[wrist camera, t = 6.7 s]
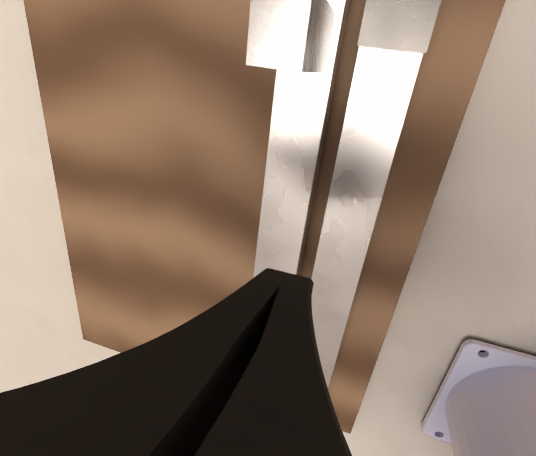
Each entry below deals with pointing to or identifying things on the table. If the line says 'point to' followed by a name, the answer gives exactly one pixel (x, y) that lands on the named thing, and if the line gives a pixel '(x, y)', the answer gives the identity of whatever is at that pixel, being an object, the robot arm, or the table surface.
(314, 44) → the bar
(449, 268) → the table surface
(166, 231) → the walnut board
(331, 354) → the tongs frame
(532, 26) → the table surface
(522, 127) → the table surface
